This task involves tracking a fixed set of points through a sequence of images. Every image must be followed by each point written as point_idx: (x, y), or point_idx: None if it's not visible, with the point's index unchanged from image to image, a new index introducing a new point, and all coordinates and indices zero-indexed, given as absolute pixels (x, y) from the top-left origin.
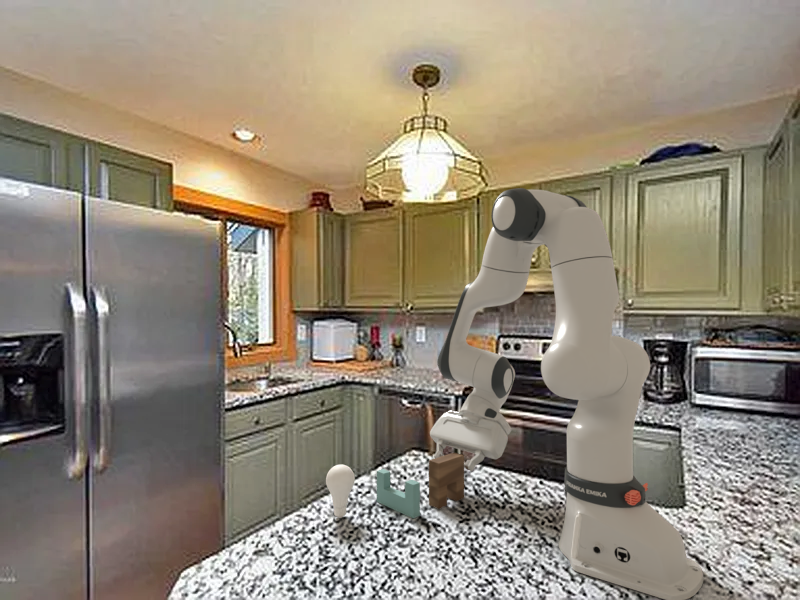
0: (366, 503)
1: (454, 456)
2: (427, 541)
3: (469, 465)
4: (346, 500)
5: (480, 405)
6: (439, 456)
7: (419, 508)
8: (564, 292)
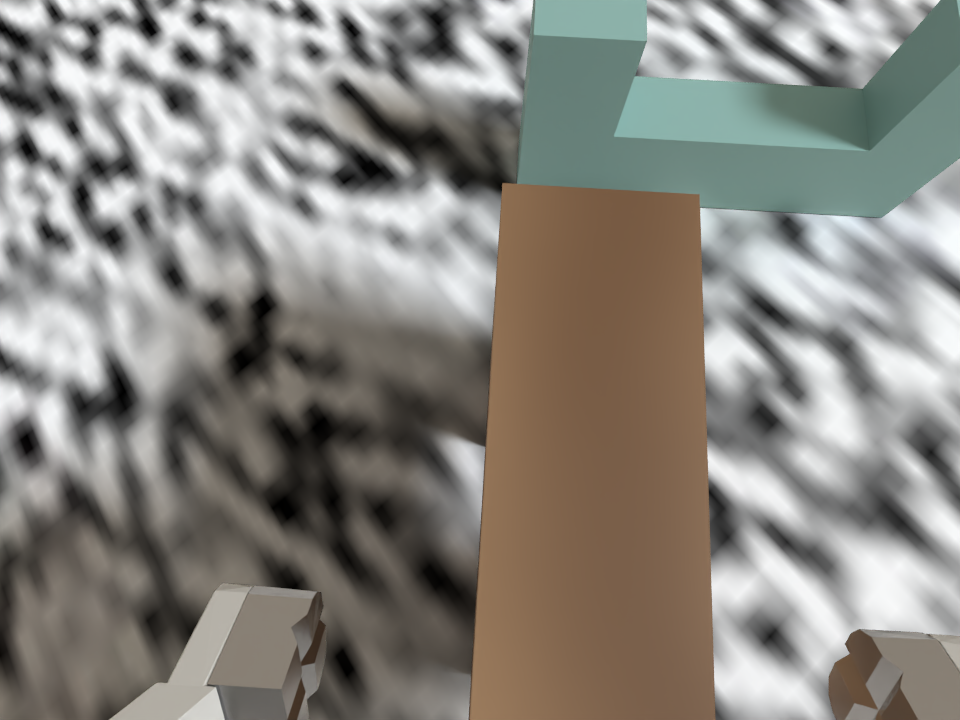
0: None
1: (543, 648)
2: (284, 12)
3: (217, 598)
4: None
5: None
6: (874, 664)
7: (519, 167)
8: None
